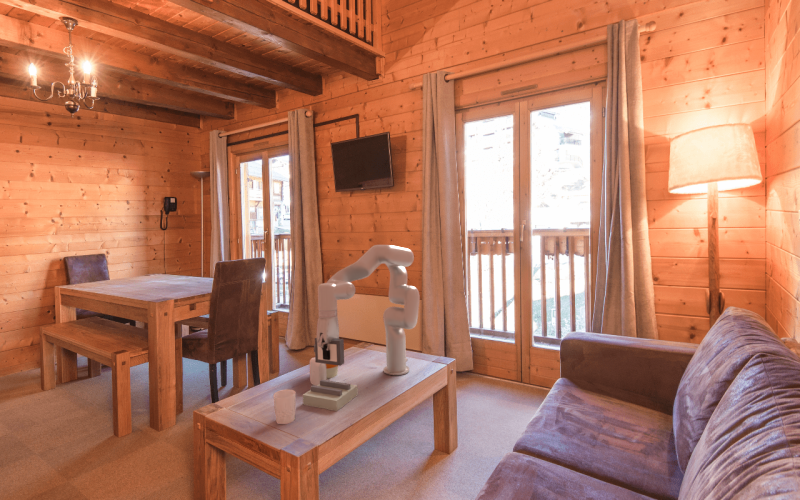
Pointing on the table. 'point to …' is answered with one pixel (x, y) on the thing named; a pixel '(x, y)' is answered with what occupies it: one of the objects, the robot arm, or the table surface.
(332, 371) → the reusable coffee cup
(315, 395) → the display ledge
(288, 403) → the white cup
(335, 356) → the thin grey panel
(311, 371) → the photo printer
